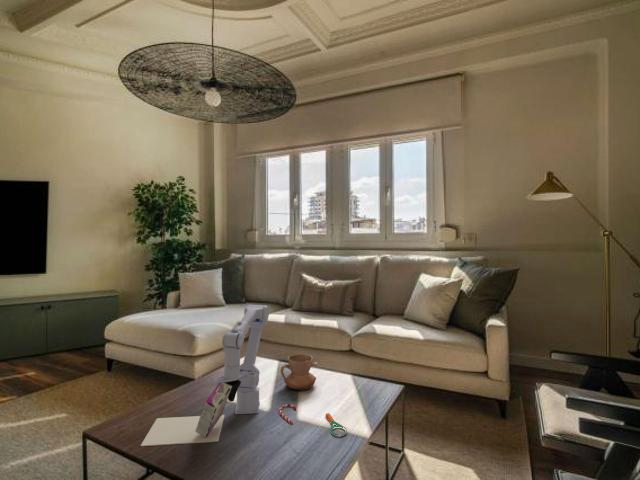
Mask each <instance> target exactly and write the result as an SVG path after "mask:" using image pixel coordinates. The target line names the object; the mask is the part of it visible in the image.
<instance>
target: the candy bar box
mask: <svg viewBox="0 0 640 480" xmlns="http://www.w3.org/2000/svg"><path fill="white" fill-rule="evenodd" d="M231 388H232V386H231V385H229V384H227V383H225V382H223V383H219V385H218V386H217V387H215V389H214V390H213V391H212V392H211V393H210V395H209V396H208V397H207V399H206V400H205V401H204V404H203V407H202V410H201V413H200V415H199V416H200V419H199V422H198V425H197V428H196V432H197V433H199V434H201V435H202V436H204V437H207V436H208V434H209V433H210V432H211V430H212V429H213V427H214V426H215V424H216V423H217V421H218V420H219V418H220V417H221V416H222V415H223V413H224V411H225V408H226V404H227V403H228V396H229V394H230V391H231Z"/></svg>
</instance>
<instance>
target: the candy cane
mask: <svg viewBox="0 0 640 480" xmlns="http://www.w3.org/2000/svg"><path fill="white" fill-rule="evenodd" d="M292 407H293V408H292ZM285 408H292V409H293V410H294V411H297V410H296V409H297V407H296V405H294V404H287V403H286V404H283V405H281V406H280V407H279V409H278V414H279V416H280V415H281V416H280V417H281V418H282V419H283V420H284V421H285V420H286V421H285V422H287V423H288V424H289V423H290V425H293V424H294V422H293V421H292V420H291V419H290V418H288V417H287V416H286V414H284V413H283V411H282V410H284V409H285Z"/></svg>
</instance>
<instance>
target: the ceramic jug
mask: <svg viewBox="0 0 640 480" xmlns="http://www.w3.org/2000/svg"><path fill="white" fill-rule="evenodd" d="M313 360H314V359H313V356H312V355H311V354H308V353H296V354H291V355H288V356H287V364H286V363H284V364H283V365H281V367H280V375H281V377H282V379H283V382H284V384H285V385H286V386H287V387H288V388H289V389H292V390H296V391H304V390H308V389H311V388H312V387H313V386H314V385H315V383H316V380H317V377H316V376H314V374H313V373H311V372H310V370H311V368H312V367H314V366H315V367H316V366H317V367H318V362H316V361H315V362H313ZM284 369H289V370H290V373H289V374H288V375H287V376H285V374H284Z"/></svg>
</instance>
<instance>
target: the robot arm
mask: <svg viewBox="0 0 640 480" xmlns="http://www.w3.org/2000/svg"><path fill="white" fill-rule="evenodd" d="M243 312H244V313H243V314H244V315H243V317H242V319H241V320H239V321H237V322H236V323H235V324H234V326H233V327H232V328H231V330H230V331H227V332H226V333H224V335H223V336H222V341H221V342H222V343H221V344H222V348H223V353H224V367H223V368H224V370H223V371H224V372H223V375H222V376H220V377H219V378H216V379H214V380H213V386H214V387H215V388H216V387H217V386H218V385H219V383H223V382H225V383H227V384H229V385H231V386H232V388H231V391H230V394H229V396H228V399H227V401H229V402H234V401H235V398H236V405H235V406H236V407H235V411H234V414H235V415H246V414H247V415H248V414H250V415H252V414H259V411H260V406H261V405H260V404H261V402H260V387H258V386H259V381H260V370H259V368H258V367H257V366H256V365H255V364H256V361H257V360H256V359H257V355H258V351H259V348H260V347H259V346H260V341H261V337H262V331H263V328H264V327H266V326H267V323H268V319H269V316H270V309H269V306H268V305H260V304H250V303H249V304H246V305H245V307H244V310H243ZM249 326H250V327H251V328H250V327H249ZM249 330H250V331H249ZM248 332H249V336H248V341H247V345H246V350H245V355H244V358H243V363H241V349H242V347H243V344H244V340H245V336H246V335H247V334H248Z"/></svg>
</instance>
